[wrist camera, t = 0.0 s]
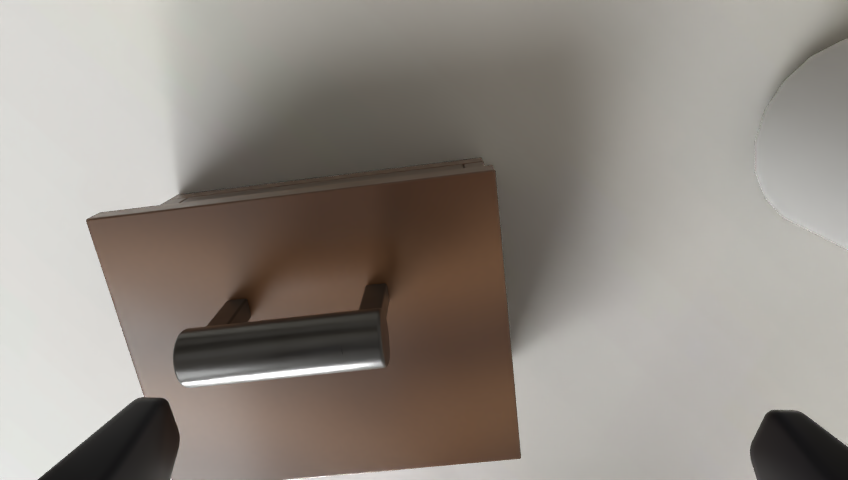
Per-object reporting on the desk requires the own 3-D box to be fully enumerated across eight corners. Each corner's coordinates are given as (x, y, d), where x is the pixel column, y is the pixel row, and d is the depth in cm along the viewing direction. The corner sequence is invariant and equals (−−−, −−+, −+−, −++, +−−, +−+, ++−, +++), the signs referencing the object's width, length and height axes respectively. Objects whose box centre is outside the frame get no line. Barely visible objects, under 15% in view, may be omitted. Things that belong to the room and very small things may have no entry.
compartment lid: (99, 212, 18) (-5, 264, 14) (493, 164, 18) (512, 203, 13) (183, 475, 22) (120, 583, 17) (518, 444, 21) (539, 549, 17)
